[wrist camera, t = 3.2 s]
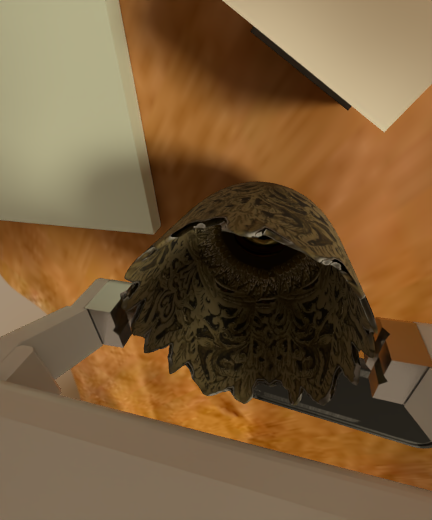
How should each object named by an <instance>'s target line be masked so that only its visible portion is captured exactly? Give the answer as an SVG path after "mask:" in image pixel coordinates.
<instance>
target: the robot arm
mask: <svg viewBox="0 0 432 520" xmlns="http://www.w3.org/2000/svg"><path fill="white" fill-rule="evenodd" d="M132 286H133V283H129V282H123V281H117V280H109V279H104V278H99V279H96V280H95V281H94V282H93V284H92V285H91V286H90V287H89V288H88V289H87V290H86V291H85V292H84V293H83V294H82V295H81V296H80V297H79V298H78V299H77V300H76V301H75V303H74V304H73V305H72V306H66V307H64V308H62V309H60V310H57V311H55V312H53V313H51V314H49V315H47V316H44V317H42V318H40V319H38V320H36V321H34V322H32V323H30V324H27V325H25V326H23V327H21V328H19V329H16V330H14V331H12V332H10V333H8V334H6V335H4V336H1V337H0V520H432V491H430V490H426V489H422V488H418V487H414V486H410V485H406V484H402V483H399V482H395V481H391V480H387V479H383V478H379V477H375V476H372V475H368V474H364V473H360V472H356V471H352V470H348V469H344V468H341V467H337V466H333V465H329V464H325V463H321V462H317V461H314V460H310V459H306V458H302V457H298V456H294V455H290V454H286V453H283V452H279V451H275V450H271V449H267V448H263V447H259V446H256V445H252V444H248V443H244V442H240V441H236V440H232V439H229V438H225V437H221V436H217V435H213V434H209V433H205V432H201V431H198V430H194V429H190V428H186V427H182V426H178V425H174V424H170V423H167V422H163V421H159V420H155V419H151V418H147V417H143V416H139V415H136V414H132V413H128V412H124V411H120V410H116V409H112V408H108V407H105V406H101V405H97V404H93V403H89V402H85V401H81V400H77V399H73V398H69V397H66V396H61V395H60V394H61V388H60V387H59V386H58V384H57V383H56V381H55V379H57V378H58V377H60V376H61V375H62V374H64V373H65V372H66V371H68V370H69V369H71V368H72V367H73V366H75V365H76V364H78V363H79V362H80V361H82V360H83V359H85V358H86V357H87V356H89V355H90V354H91V353H93V352H94V351H96V350H97V349H98V348H100V347H101V346H102V344H104V345H110V346H116V347H122V348H123V347H124V346H125V344H126V343H127V341H128V339H129V338H130V336H131V335H132V332H131V321H132V318H133V316H134V313H135V311H136V308H137V306H135V307H134V308H133V309H131V310H129V311H127V310H123V309H122V308H121V305H122V302H123V298H124V297H125V295H126V293H127V292H128V291H129V290H130V289H131V287H132ZM375 321H376V325H377V328H378V334H375V332H374V335H373V340H374V345H375V357H374V358H370V357H368V356H367V355H366V354H364V359H365V364H366V365H367V366H368V368H369V369H370V370H371V372H370V374H369V377H368V379H369V384H370V388H371V393H372V398H376V399H381V400H385V401H390V402H394V403H399V404H403V405H404V407H405V408H406V409H407V411H408V412H409V413H410V414H411V416H412V417H413V418H414V420H415V421H416V422H417V423H418V425H419V426H420V427H421V429H422V430H423V431H424V432H425V434H426V435H427V436H428V437H429V439H430V440H431V441H432V324H427V323H419V322H411V321H403V320H395V319H388V318H380V317H376V318H375Z"/></svg>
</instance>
